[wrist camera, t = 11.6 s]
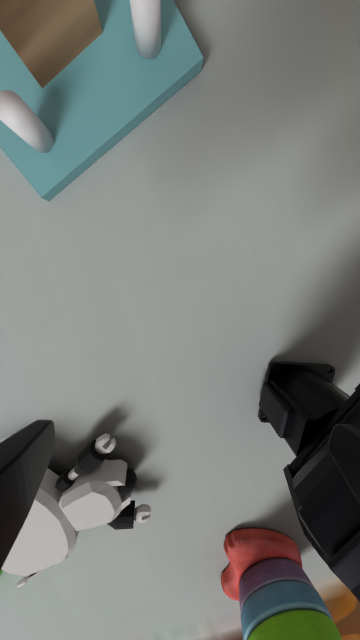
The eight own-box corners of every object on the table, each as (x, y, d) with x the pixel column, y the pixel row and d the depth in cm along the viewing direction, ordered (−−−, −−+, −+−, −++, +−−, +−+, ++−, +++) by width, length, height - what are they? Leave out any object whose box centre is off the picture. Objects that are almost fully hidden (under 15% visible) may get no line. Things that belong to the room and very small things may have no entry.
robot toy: (115, 408, 22) (-29, 462, 22) (106, 442, 18) (-74, 511, 17) (156, 492, 26) (32, 542, 25) (158, 538, 21) (7, 600, 20)
